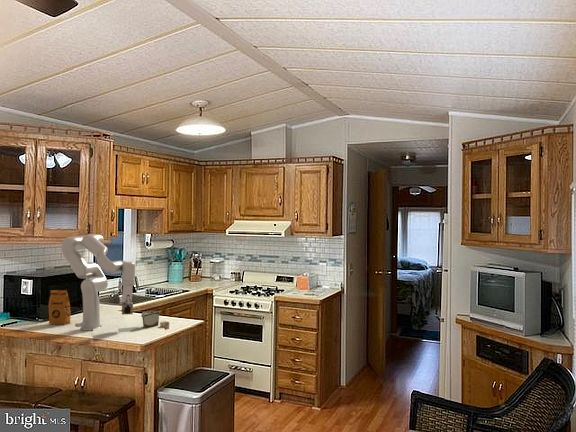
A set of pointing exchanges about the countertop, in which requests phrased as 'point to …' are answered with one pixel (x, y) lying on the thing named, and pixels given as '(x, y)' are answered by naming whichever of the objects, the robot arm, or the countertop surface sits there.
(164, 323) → the oak block
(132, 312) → the walnut block
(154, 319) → the food container
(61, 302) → the coffee package
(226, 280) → the countertop surface
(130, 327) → the parts board
